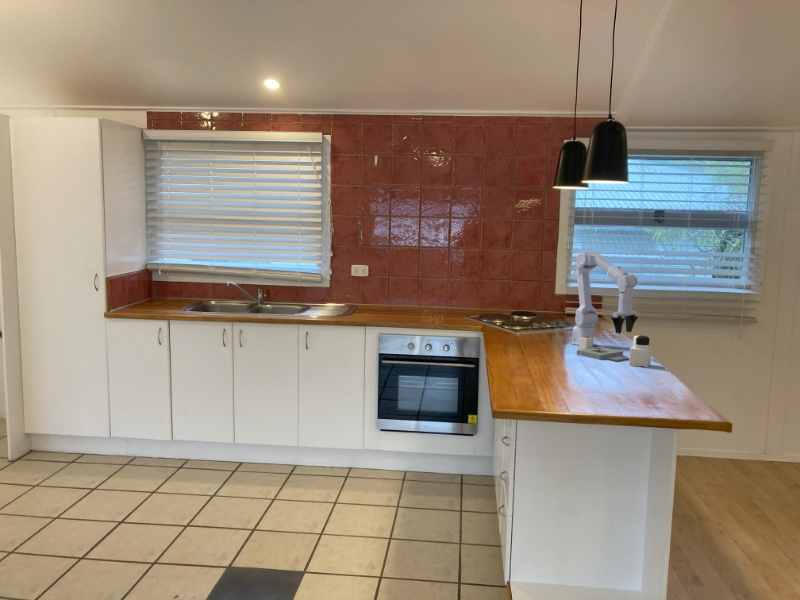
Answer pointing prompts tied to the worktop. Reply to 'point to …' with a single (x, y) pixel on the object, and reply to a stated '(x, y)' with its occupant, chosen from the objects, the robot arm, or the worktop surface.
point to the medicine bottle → (640, 351)
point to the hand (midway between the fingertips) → (623, 332)
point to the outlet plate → (599, 352)
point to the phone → (617, 358)
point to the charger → (585, 342)
